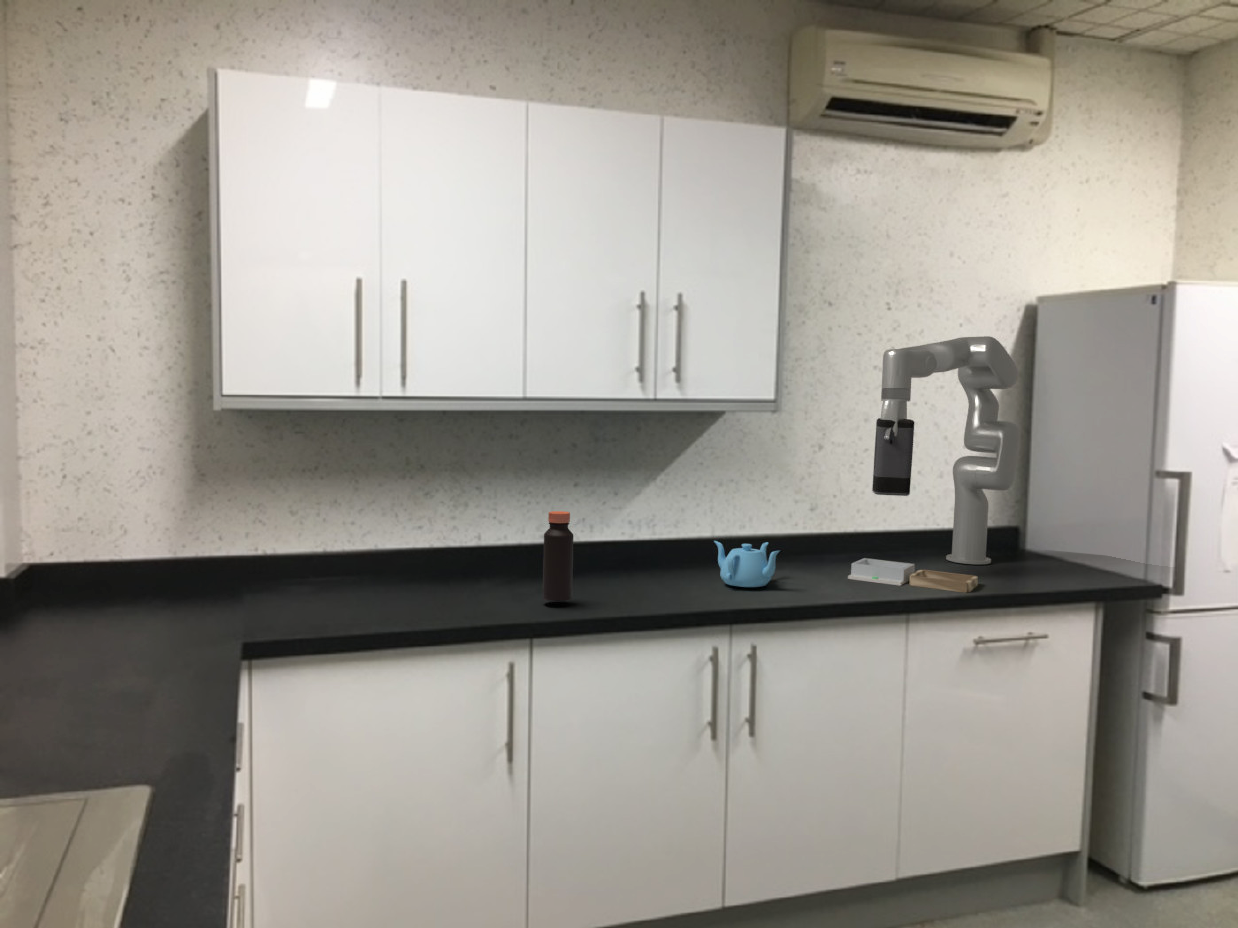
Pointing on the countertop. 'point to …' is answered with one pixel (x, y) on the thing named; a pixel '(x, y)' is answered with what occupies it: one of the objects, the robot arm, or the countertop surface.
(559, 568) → the bottle
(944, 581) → the wooden tray
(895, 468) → the electronic device
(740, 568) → the teapot
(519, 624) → the countertop surface
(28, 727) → the countertop surface
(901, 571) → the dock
